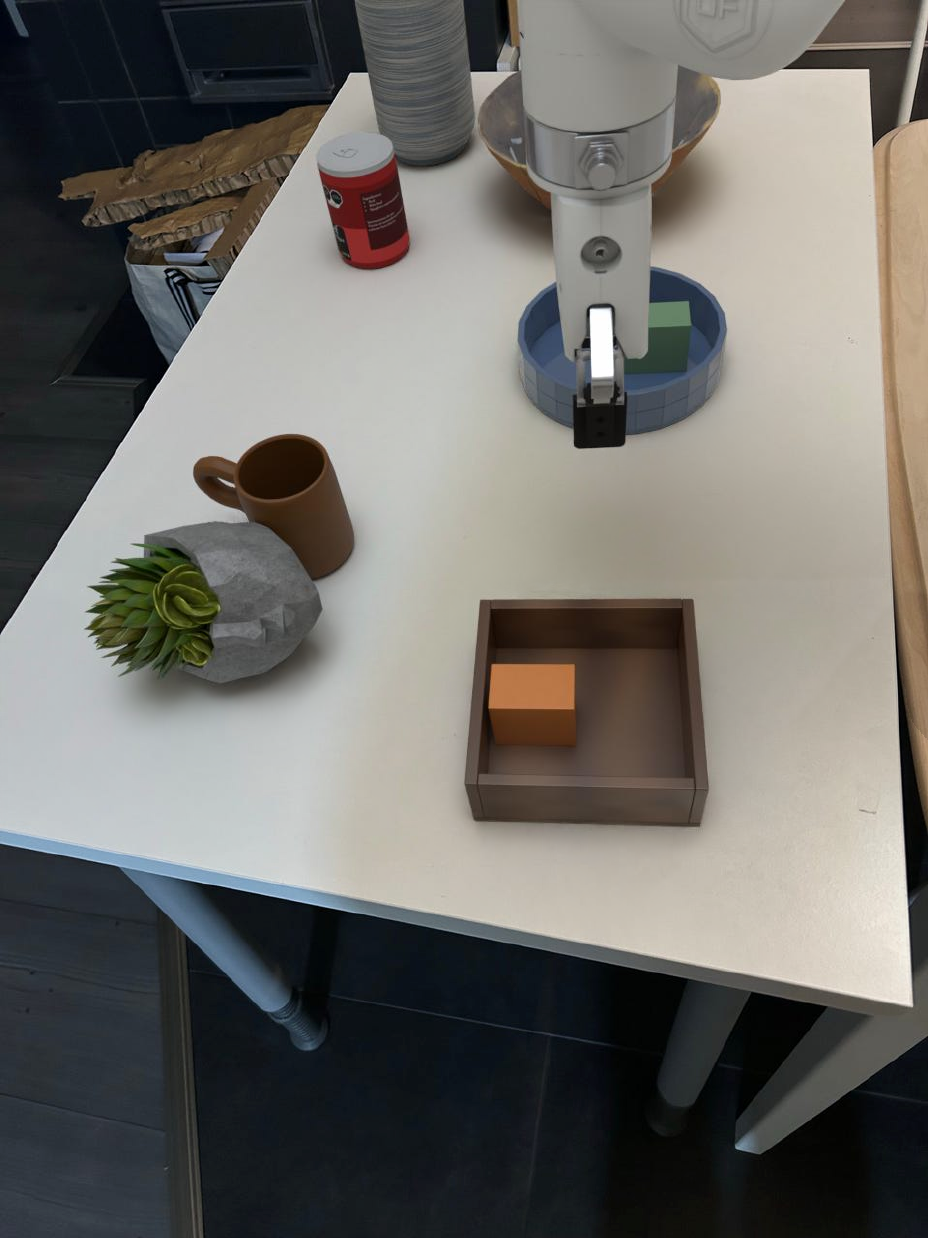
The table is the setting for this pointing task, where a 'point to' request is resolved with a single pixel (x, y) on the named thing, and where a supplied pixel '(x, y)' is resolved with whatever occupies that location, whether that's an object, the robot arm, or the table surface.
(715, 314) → the blue round dish
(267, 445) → the mug
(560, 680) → the packet orange
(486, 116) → the bowl
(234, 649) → the potted plant
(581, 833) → the table surface
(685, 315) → the packet green
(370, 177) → the canned food
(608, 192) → the robot arm
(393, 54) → the vase
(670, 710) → the holder
